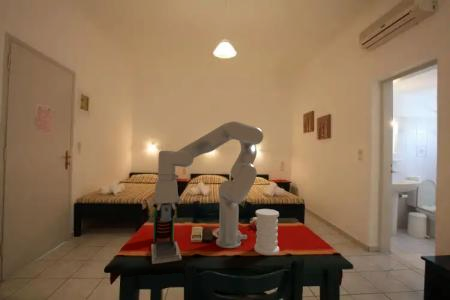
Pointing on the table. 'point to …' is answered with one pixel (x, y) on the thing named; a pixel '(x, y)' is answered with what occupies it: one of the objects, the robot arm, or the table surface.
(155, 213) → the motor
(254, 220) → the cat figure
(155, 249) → the mounting plate
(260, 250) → the decorative container
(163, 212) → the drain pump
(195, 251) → the table surface
